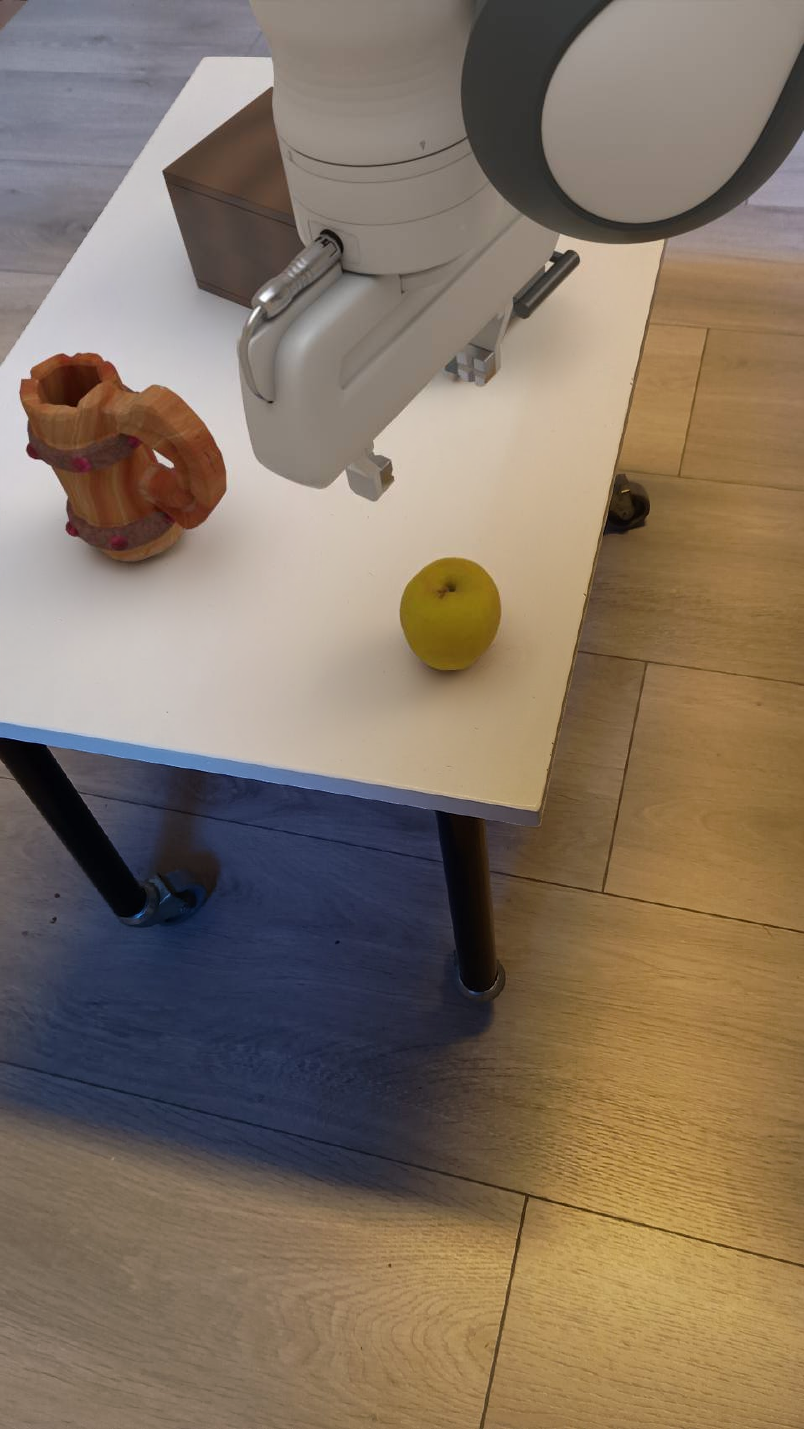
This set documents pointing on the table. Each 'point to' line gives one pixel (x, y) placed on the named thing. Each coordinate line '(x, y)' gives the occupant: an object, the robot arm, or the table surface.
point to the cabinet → (236, 205)
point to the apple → (450, 613)
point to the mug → (121, 455)
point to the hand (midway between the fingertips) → (428, 430)
